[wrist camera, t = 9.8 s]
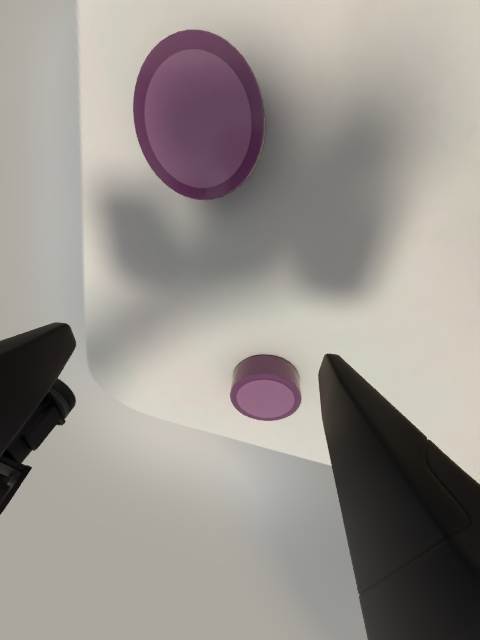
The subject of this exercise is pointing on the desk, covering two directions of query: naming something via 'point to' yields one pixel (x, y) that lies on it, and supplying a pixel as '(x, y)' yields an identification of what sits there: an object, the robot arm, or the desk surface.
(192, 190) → the dish
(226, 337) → the desk surface
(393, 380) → the desk surface
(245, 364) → the dish
